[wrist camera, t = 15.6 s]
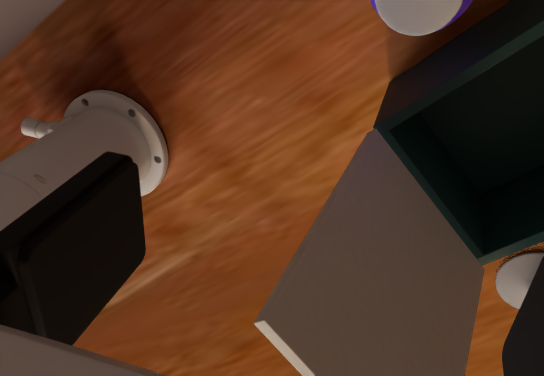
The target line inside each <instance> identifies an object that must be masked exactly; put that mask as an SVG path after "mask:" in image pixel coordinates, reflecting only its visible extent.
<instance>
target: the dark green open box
mask: <svg viewBox="0 0 544 376" xmlns="http://www.w3.org/2000/svg"><path fill="white" fill-rule="evenodd" d="M373 129H377V130H378V132H379V133H380V134H381V136H382V137H383V138H384V139H385V141H386V142H387V143H388V145H389V146H390V147H391V149H392V150H393V151H394V152H395V154H396V155H397V156H398V158H399V159H400V160H401V162H402V163H403V164H404V165H405V167H406V168H407V169H408V171H409V172H410V173H411V175H412V176H413V177H414V178H415V180H416V181H417V182H418V184H419V185H420V186H421V188H422V189H423V190H424V191H425V193H426V194H427V195H428V197H429V198H430V199H431V201H432V202H433V203H434V204H435V206H436V207H437V208H438V210H439V211H440V212H441V214H442V215H443V216H444V217H445V219H446V220H447V221H448V223H449V224H450V225H451V227H452V228H453V229H454V230H455V232H456V233H457V234H458V236H459V237H460V238H461V240H462V241H463V242H464V243H465V245H466V246H467V247H468V249H469V250H470V251H471V253H472V254H473V255H474V256H475V258H476V259H477V260H478V262H479V263H480V264H481V266H482V265H485V264H487V263H490V262H492V261H495V260H497V259H500V258H502V257H505V256H508V255H510V254H513V253H515V252H518V251H520V250H523V249H525V248H528V247H530V246H533V245H535V244H538V243H540V242H543V241H544V0H511V1H509V2H508V3H506V4H505V5H503V6H502V7H500V8H499V9H497V10H496V11H494V12H493V13H492V14H490V15H489V16H487V17H486V18H484V19H483V20H481V21H480V22H478V23H477V24H475V25H474V26H472V27H471V28H469V29H468V30H466V31H465V32H463V33H462V34H461V35H459V36H458V37H456V38H455V39H453V40H452V41H450V42H449V43H447V44H446V45H444V46H443V47H441V48H440V49H438V50H437V51H435V52H434V53H432V54H431V55H430V56H428V57H427V58H425V59H424V60H422V61H421V62H419V63H418V64H416V65H415V66H413V67H412V68H410V69H409V70H407V71H406V72H404V73H403V74H401V75H400V76H399V77H397V78H396V79H394V80H393V81H391V82H390V83H389V86H388V88H387V91H386V94H385V96H384V99H383V102H382V105H381V107H380V110H379V113H378V116H377V118H376V121H375V124H374V127H373Z"/></svg>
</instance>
